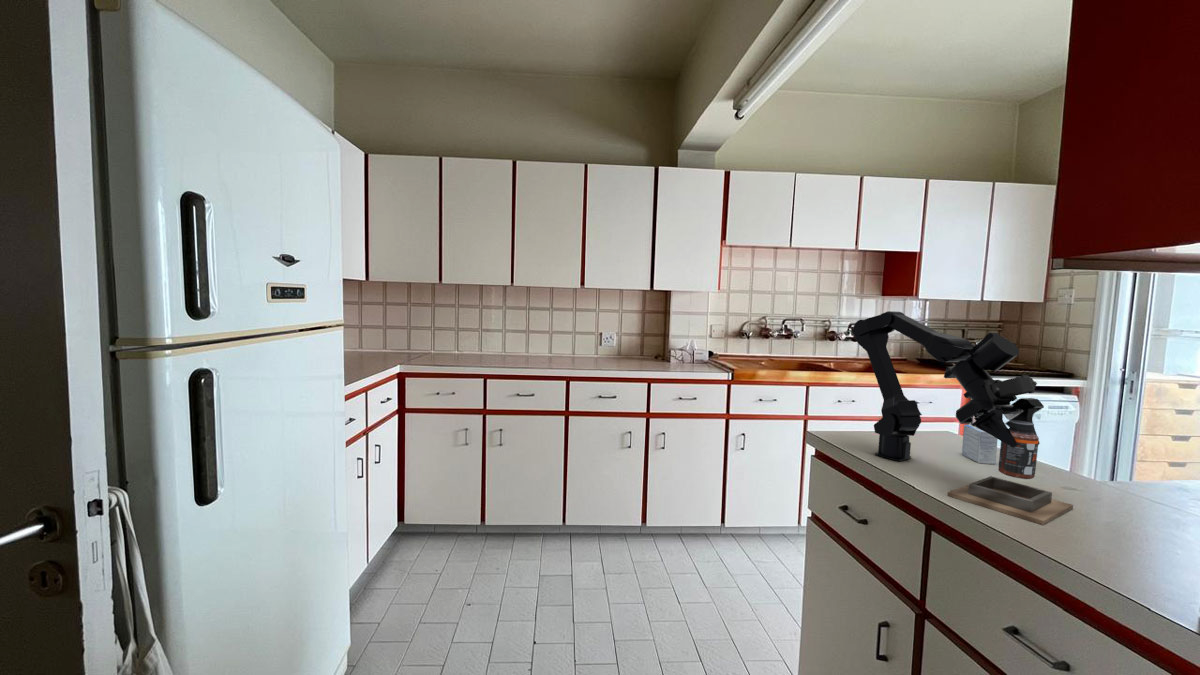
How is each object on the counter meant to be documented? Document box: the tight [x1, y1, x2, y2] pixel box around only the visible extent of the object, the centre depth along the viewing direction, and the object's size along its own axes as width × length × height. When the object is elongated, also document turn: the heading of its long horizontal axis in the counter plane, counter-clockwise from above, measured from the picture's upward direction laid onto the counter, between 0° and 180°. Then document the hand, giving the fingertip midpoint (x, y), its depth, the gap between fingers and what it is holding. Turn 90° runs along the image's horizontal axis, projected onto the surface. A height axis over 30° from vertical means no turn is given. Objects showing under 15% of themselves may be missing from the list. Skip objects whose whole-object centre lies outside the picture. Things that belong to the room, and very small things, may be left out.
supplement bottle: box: [998, 420, 1040, 480], centre depth 104 cm, size 6×6×11 cm
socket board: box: [947, 475, 1074, 526], centre depth 104 cm, size 16×16×3 cm
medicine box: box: [961, 424, 999, 465], centre depth 134 cm, size 8×4×9 cm, turn 170°
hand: (1026, 445), depth 103 cm, fingers closed on supplement bottle, 6 cm apart
